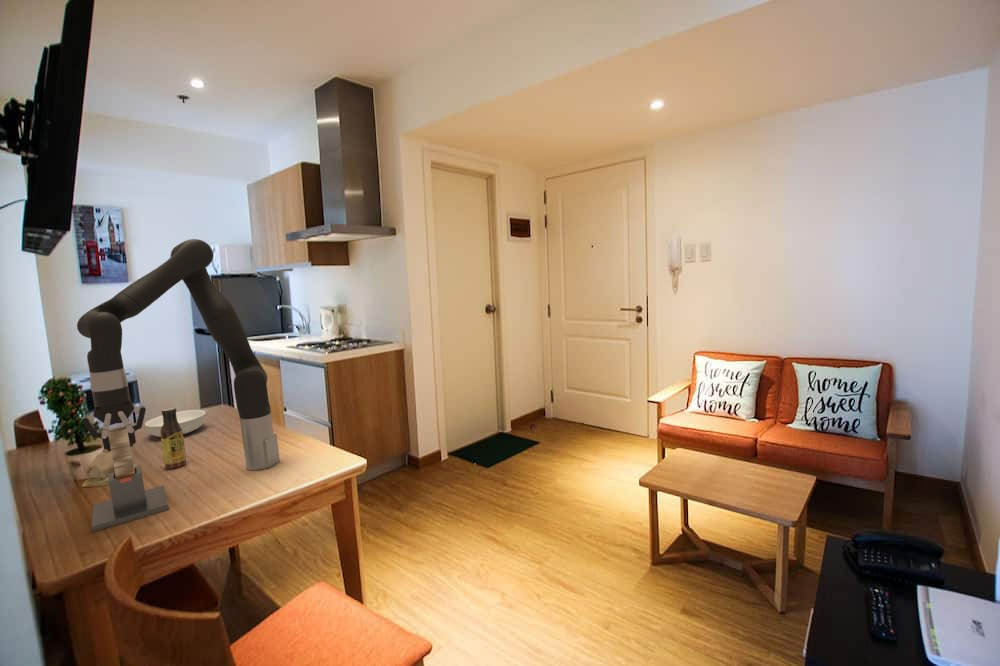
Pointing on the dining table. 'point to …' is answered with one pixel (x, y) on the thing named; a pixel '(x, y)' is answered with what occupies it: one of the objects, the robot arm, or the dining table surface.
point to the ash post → (121, 452)
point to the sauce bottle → (172, 440)
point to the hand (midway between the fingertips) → (120, 447)
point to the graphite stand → (128, 501)
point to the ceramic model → (101, 470)
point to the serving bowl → (185, 419)
